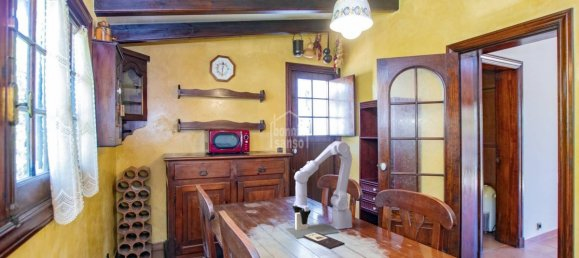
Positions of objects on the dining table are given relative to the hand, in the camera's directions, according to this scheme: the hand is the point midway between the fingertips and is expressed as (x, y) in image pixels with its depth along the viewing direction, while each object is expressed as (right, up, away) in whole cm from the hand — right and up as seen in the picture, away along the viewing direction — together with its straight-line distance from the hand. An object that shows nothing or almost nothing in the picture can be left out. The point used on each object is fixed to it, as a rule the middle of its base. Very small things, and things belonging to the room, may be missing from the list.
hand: (301, 221), depth 152 cm
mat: (+5, -4, -2) cm, 7 cm away
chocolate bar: (+9, -4, -15) cm, 18 cm away
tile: (0, -3, 0) cm, 3 cm away
